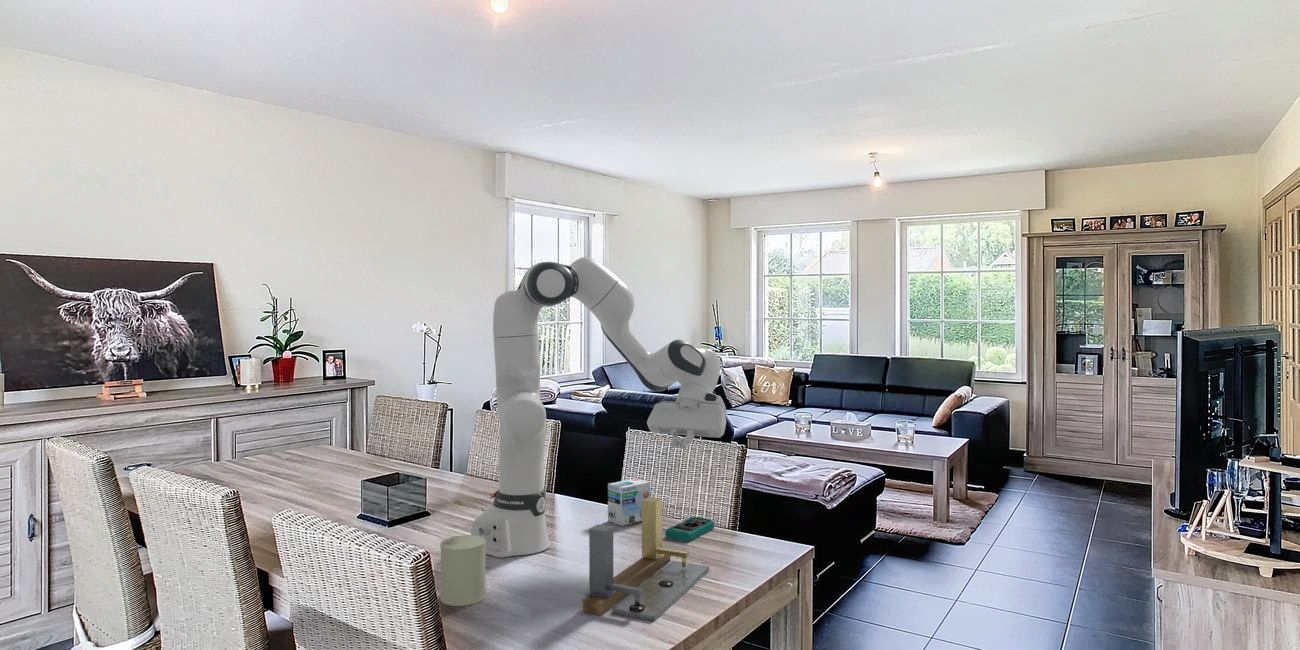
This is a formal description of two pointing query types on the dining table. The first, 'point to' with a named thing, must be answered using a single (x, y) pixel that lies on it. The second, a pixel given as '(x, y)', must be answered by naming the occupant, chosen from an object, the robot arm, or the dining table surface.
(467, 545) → the can
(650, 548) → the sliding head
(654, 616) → the hole plate
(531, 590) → the dining table surface
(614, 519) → the light bulb box
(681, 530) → the digital multimeter
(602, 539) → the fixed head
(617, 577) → the rail
